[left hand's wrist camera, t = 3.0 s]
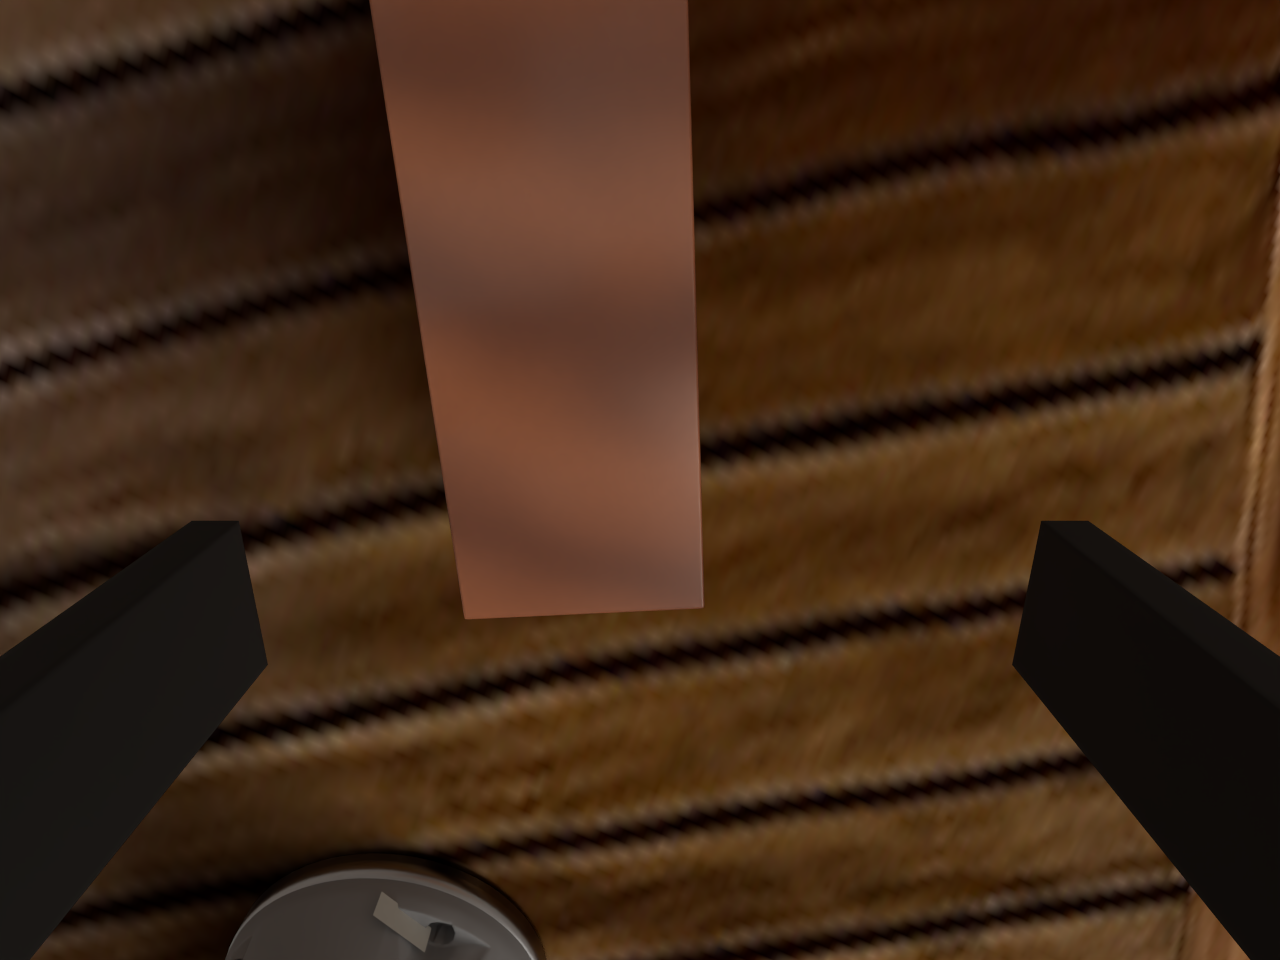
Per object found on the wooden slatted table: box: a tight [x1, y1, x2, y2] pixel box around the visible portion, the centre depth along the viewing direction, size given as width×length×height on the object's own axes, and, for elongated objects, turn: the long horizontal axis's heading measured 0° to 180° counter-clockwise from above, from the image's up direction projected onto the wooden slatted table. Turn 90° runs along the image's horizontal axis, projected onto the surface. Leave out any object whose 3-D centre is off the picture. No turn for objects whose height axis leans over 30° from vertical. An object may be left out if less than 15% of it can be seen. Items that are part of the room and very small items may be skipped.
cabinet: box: [369, 0, 704, 619], centre depth 22 cm, size 17×7×9 cm, turn 3°
